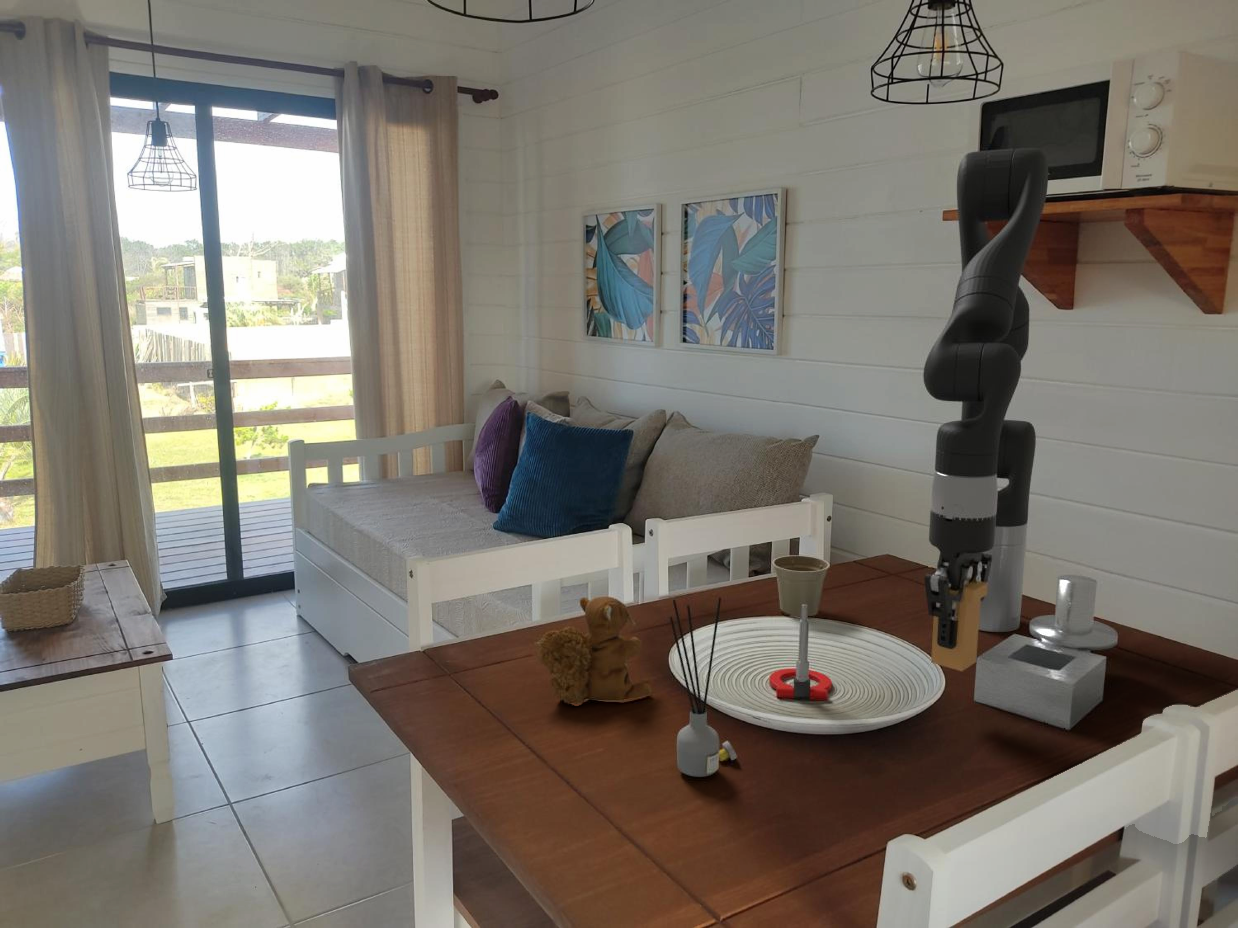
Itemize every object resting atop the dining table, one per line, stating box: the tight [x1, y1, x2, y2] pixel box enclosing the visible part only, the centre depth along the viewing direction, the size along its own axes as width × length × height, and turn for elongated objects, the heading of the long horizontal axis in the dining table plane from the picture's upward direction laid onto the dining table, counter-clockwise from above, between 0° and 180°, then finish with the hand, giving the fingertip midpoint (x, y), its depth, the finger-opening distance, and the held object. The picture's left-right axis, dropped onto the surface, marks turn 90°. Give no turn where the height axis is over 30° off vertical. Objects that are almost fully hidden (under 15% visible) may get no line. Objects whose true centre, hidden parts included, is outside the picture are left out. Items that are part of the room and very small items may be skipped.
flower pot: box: [771, 554, 831, 618], centre depth 156 cm, size 9×9×9 cm
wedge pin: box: [930, 581, 988, 672], centre depth 115 cm, size 6×4×10 cm
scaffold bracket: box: [973, 574, 1119, 731], centre depth 125 cm, size 12×22×14 cm, turn 135°
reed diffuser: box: [669, 596, 738, 778], centre depth 104 cm, size 10×7×20 cm
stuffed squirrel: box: [534, 596, 652, 704], centre depth 124 cm, size 10×14×13 cm
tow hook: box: [768, 604, 833, 701], centre depth 126 cm, size 8×13×9 cm
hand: (954, 640), depth 116 cm, fingers closed on wedge pin, 4 cm apart
